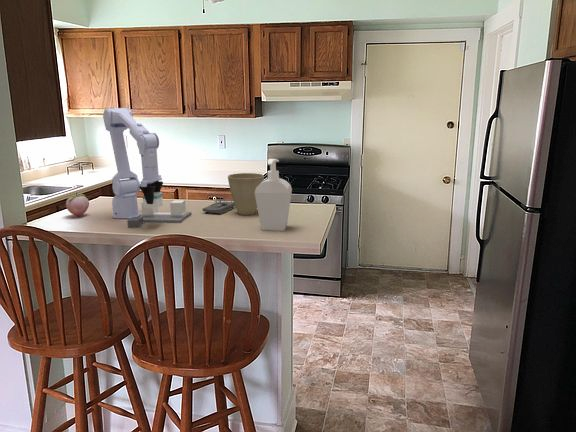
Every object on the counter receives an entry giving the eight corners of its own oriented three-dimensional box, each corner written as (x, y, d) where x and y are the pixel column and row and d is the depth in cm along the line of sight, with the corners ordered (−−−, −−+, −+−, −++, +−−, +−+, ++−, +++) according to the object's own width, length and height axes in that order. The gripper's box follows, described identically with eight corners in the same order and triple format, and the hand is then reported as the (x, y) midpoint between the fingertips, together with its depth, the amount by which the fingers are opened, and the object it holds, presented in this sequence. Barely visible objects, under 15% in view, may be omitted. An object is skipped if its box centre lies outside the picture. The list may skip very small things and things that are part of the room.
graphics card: (215, 198, 217) (239, 199, 213) (216, 206, 218) (239, 207, 214) (195, 206, 202) (220, 208, 197) (196, 215, 203) (221, 216, 198)
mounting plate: (136, 222, 189) (134, 204, 188) (150, 213, 203) (148, 197, 201) (180, 222, 187) (179, 205, 185) (191, 214, 201) (190, 198, 199)
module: (143, 207, 179) (142, 194, 178) (149, 204, 184) (147, 192, 183) (157, 207, 178) (156, 194, 177) (163, 205, 183) (162, 192, 182)
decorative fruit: (76, 213, 206) (73, 190, 203) (93, 214, 204) (91, 191, 202) (62, 218, 197) (59, 194, 194) (80, 219, 195) (77, 195, 193)
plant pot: (248, 218, 192) (247, 179, 188) (222, 214, 200) (220, 176, 197) (271, 211, 203) (271, 174, 199) (245, 207, 212) (244, 171, 208)
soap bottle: (254, 231, 173) (252, 160, 167) (260, 224, 183) (258, 157, 176) (288, 232, 171) (287, 160, 165) (292, 225, 181) (291, 157, 174)
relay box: (128, 228, 181) (127, 220, 181) (133, 224, 187) (132, 216, 186) (138, 228, 181) (137, 220, 181) (143, 224, 187) (142, 216, 186)
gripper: (152, 169, 170) (155, 206, 173) (167, 163, 184) (170, 198, 187) (133, 169, 171) (137, 206, 174) (149, 163, 185) (152, 198, 188)
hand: (152, 202), depth 181 cm, fingers closed on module, 5 cm apart
